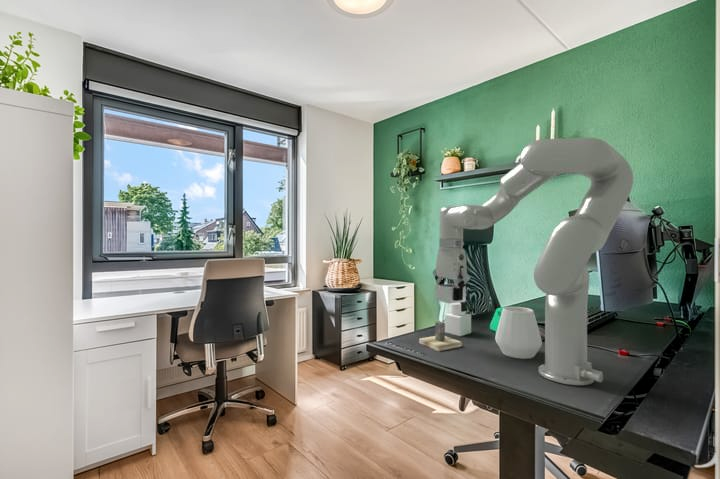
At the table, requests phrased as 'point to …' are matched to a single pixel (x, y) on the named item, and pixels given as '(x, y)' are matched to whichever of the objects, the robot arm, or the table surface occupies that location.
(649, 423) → the table surface
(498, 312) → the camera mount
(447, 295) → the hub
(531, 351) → the cup
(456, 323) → the medicine bottle
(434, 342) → the post block
